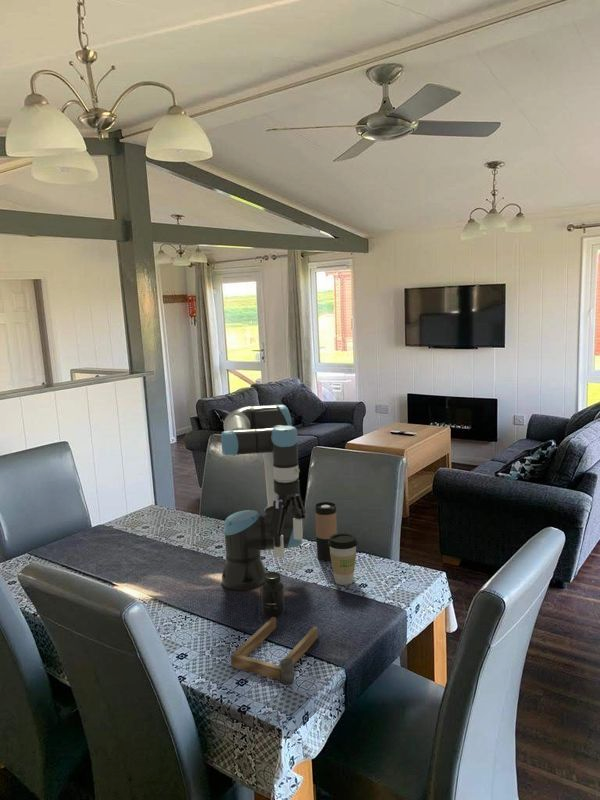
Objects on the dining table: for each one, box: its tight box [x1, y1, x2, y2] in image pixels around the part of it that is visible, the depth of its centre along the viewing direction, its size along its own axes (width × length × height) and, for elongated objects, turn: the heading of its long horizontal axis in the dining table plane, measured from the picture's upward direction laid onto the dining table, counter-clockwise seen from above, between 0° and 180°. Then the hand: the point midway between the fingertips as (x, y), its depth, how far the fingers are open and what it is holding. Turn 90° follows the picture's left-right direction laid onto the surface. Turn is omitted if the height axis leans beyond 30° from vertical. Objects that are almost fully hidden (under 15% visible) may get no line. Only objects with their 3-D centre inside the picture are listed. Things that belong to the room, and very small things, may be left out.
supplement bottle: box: [260, 571, 285, 619], centre depth 175 cm, size 7×7×12 cm
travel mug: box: [314, 501, 338, 563], centre depth 213 cm, size 8×8×20 cm
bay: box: [230, 617, 319, 685], centre depth 154 cm, size 17×22×5 cm
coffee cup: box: [328, 532, 359, 586], centre depth 194 cm, size 10×10×15 cm
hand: (289, 547), depth 175 cm, fingers open, 13 cm apart
